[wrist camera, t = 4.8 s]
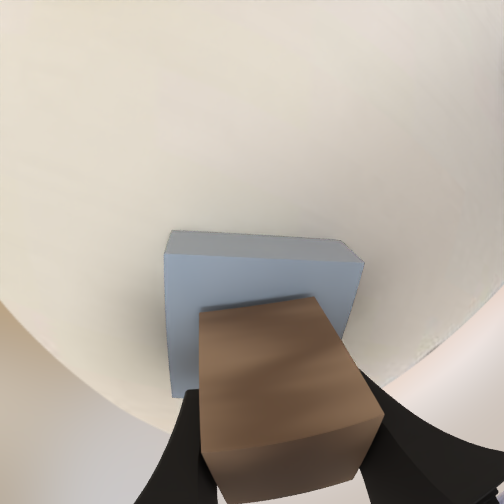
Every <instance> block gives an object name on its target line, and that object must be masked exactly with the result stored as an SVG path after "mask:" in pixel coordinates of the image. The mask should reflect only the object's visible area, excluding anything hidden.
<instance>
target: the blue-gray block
mask: <svg viewBox="0 0 504 504" xmlns="http://www.w3.org/2000/svg"><path fill="white" fill-rule="evenodd" d="M363 267H364V262H363V261H362V260H361V259H360V258H359V257H358V256H357V255H356V254H355V253H354V252H353V251H352V250H350V249H349V248H348V247H347V246H346V245H345V244H344V243H343V242H342V241H341V240H330V239H315V238H301V237H285V236H270V235H253V234H236V233H218V232H199V231H179V230H172V231H171V234H170V237H169V240H168V243H167V246H166V249H165V252H164V284H165V312H166V330H167V345H168V358H169V370H170V380H171V390H172V398H184V395H185V392H186V391H187V390H189V389H199V312H208V311H216V310H224V309H232V308H240V307H247V306H255V305H262V304H269V303H275V302H282V301H289V300H295V299H301V298H307V297H315V298H316V300H317V301H318V303H319V305H320V306H321V308H322V309H323V311H324V313H325V314H326V316H327V318H328V319H329V321H330V323H331V324H332V326H333V327H334V329H335V331H336V332H337V334H338V336H339V337H340V339H342V336H343V333H344V330H345V327H346V324H347V321H348V318H349V315H350V311H351V308H352V305H353V302H354V299H355V295H356V292H357V288H358V285H359V282H360V278H361V274H362V271H363Z"/></svg>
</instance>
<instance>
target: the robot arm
mask: <svg viewBox="0 0 504 504" xmlns="http://www.w3.org/2000/svg"><path fill="white" fill-rule="evenodd" d="M358 369H359V368H358ZM359 371H360V373H361V374H362V376H363V378H364V379H365V381H366V383H367V384H368V386H369V388H370V390H371V391H372V393H373V395H374V397H375V398H376V400H377V402H378V403H379V405H380V407H381V409H382V410H383V412H384V414H385V415H384V417H383V419H382V422H381V424H380V426H379V429H378V431H377V433H376V435H375V437H374V439H373V441H372V444H371V446H370V448H369V450H368V452H367V454H366V456H365V458H364V460H363V462H362V463H361V465H360V467H359V469H360V471H361V474H362V476H363V479H364V482H365V485H366V489H367V492H368V495H369V498H370V502H371V504H504V491H503V492H502V493H501V494H500V495H499V496H497V497H496V496H495V495H497V494H498V490H497V488H496V487H498V486H499V485H500V484H501V483H502V482H503V481H504V452H502V451H498V450H493V449H488V448H485V447H481V446H478V445H475V444H472V443H469V442H466V441H464V440H461V439H459V438H457V437H454V436H452V435H450V434H447V433H445V432H443V431H442V430H440V429H438V428H436V427H434V426H432V425H431V424H429V423H427V422H426V421H424V420H422V419H421V418H419V417H418V416H416V415H414V414H413V413H412V412H410V411H409V410H408V409H406V408H405V407H404V406H402V405H401V404H400V403H398V402H397V401H396V400H395V399H393V398H392V397H391V396H390V395H388V394H387V393H386V392H385V391H384V390H382V389H381V388H380V387H379V386H378V385H377V384H375V383H374V382H373V381H372V380H371V379H370V378H369V377H368V376H367V375H365V374H364V373H363V372H362V371H361V370H360V369H359ZM134 504H218V500H217V484H216V482H215V480H214V478H213V476H212V474H211V472H210V470H209V468H208V466H207V464H206V462H205V460H204V457H203V455H202V453H201V435H200V405H199V389H189V390H187V391H186V392H185V395H184V399H183V403H182V406H181V409H180V412H179V415H178V418H177V421H176V424H175V427H174V429H173V432H172V434H171V437H170V439H169V442H168V444H167V446H166V449H165V451H164V453H163V455H162V457H161V459H160V461H159V463H158V465H157V467H156V469H155V471H154V473H153V474H152V476H151V478H150V480H149V481H148V483H147V485H146V486H145V488H144V489H143V491H142V492H141V494H140V495H139V497H138V498H137V500H136V501H135V503H134Z"/></svg>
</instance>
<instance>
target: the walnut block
mask: <svg viewBox="0 0 504 504" xmlns="http://www.w3.org/2000/svg"><path fill="white" fill-rule="evenodd" d="M199 405H200V435H201V453H202V455H203V457H204V460H205V462H206V464H207V466H208V468H209V470H210V472H211V474H212V476H213V478H214V480H215V482H216V484H217V486H218V487H219V489H220V491H221V493H222V495H223V497H224V499H225V501H226V502H227V504H242V503H250V502H258V501H265V500H271V499H277V498H282V497H287V496H292V495H297V494H302V493H306V492H310V491H314V490H318V489H322V488H326V487H329V486H333V485H336V484H340V483H343V482H346V481H349V480H352V479H353V478H354V476H355V474H356V473H357V471H358V469H359V467H360V465H361V463H362V462H363V460H364V458H365V456H366V454H367V452H368V450H369V448H370V446H371V444H372V441H373V439H374V437H375V435H376V433H377V431H378V429H379V426H380V424H381V422H382V419H383V417H384V415H385V414H384V412H383V410H382V409H381V407H380V405H379V403H378V402H377V400H376V398H375V397H374V395H373V393H372V391H371V390H370V388H369V386H368V384H367V383H366V381H365V379H364V378H363V376H362V374H361V373H360V371H359V369H358V367H357V366H356V364H355V362H354V361H353V359H352V357H351V356H350V354H349V352H348V351H347V349H346V347H345V346H344V344H343V342H342V341H341V339H340V337H339V336H338V334H337V332H336V331H335V329H334V327H333V326H332V324H331V323H330V321H329V319H328V318H327V316H326V314H325V313H324V311H323V309H322V308H321V306H320V305H319V303H318V301H317V300H316V298H315V297H307V298H301V299H295V300H289V301H282V302H275V303H269V304H262V305H255V306H247V307H240V308H232V309H224V310H216V311H208V312H199Z"/></svg>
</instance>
